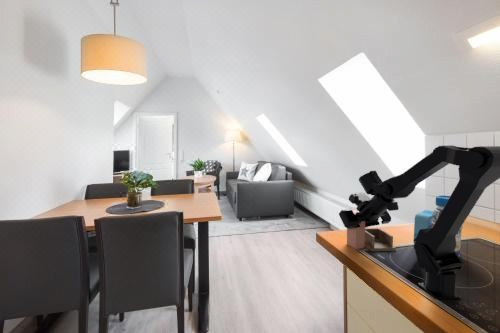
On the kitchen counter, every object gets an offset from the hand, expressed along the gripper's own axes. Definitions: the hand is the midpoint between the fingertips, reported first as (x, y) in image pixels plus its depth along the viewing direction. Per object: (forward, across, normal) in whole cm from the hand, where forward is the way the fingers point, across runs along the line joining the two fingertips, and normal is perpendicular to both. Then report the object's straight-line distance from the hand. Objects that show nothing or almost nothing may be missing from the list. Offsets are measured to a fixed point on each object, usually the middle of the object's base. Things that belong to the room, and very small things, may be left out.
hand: (353, 227), depth 95 cm
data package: (-1, -27, +10) cm, 29 cm away
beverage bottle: (-7, -25, +16) cm, 31 cm away
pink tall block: (+4, 0, +6) cm, 7 cm away
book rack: (+2, -8, +7) cm, 11 cm away
